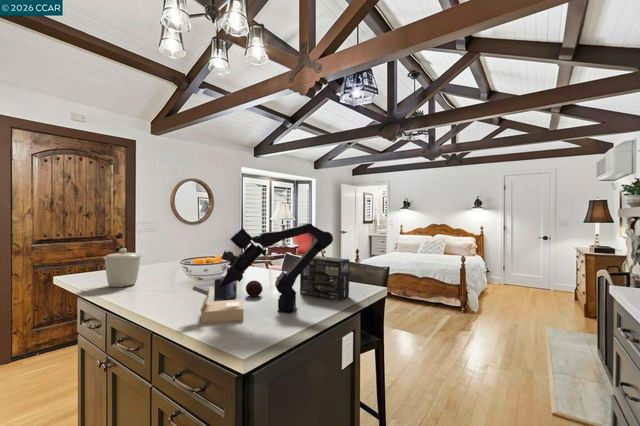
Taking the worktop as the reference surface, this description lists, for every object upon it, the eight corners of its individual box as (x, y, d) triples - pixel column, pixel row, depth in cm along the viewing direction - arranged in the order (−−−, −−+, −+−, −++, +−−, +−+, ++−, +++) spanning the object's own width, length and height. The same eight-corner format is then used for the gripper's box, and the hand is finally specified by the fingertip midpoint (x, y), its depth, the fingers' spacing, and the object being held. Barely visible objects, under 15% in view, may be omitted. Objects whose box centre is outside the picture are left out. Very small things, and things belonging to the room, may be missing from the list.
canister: (145, 285, 170) (146, 248, 170) (107, 291, 157) (107, 250, 157) (135, 280, 182) (136, 246, 183) (99, 285, 169) (100, 248, 170)
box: (349, 297, 147) (349, 258, 147) (339, 302, 139) (340, 260, 139) (310, 290, 159) (310, 255, 160) (299, 294, 151) (299, 257, 151)
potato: (248, 299, 142) (249, 283, 142) (243, 295, 150) (243, 279, 150) (265, 297, 146) (265, 281, 146) (258, 293, 154) (258, 278, 154)
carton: (242, 308, 127) (242, 299, 127) (243, 319, 114) (243, 308, 114) (205, 311, 123) (205, 301, 123) (201, 323, 110) (201, 311, 110)
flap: (212, 287, 124) (197, 281, 122) (209, 295, 111) (192, 288, 110) (204, 302, 123) (189, 296, 121) (201, 311, 110) (183, 305, 109)
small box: (226, 303, 136) (226, 279, 136) (213, 302, 137) (213, 279, 137) (237, 297, 146) (237, 275, 146) (225, 296, 147) (225, 274, 148)
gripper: (234, 241, 129) (206, 268, 126) (233, 245, 111) (201, 277, 108) (252, 259, 131) (226, 286, 128) (255, 265, 113) (224, 297, 110)
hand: (219, 286), depth 118 cm, fingers closed
